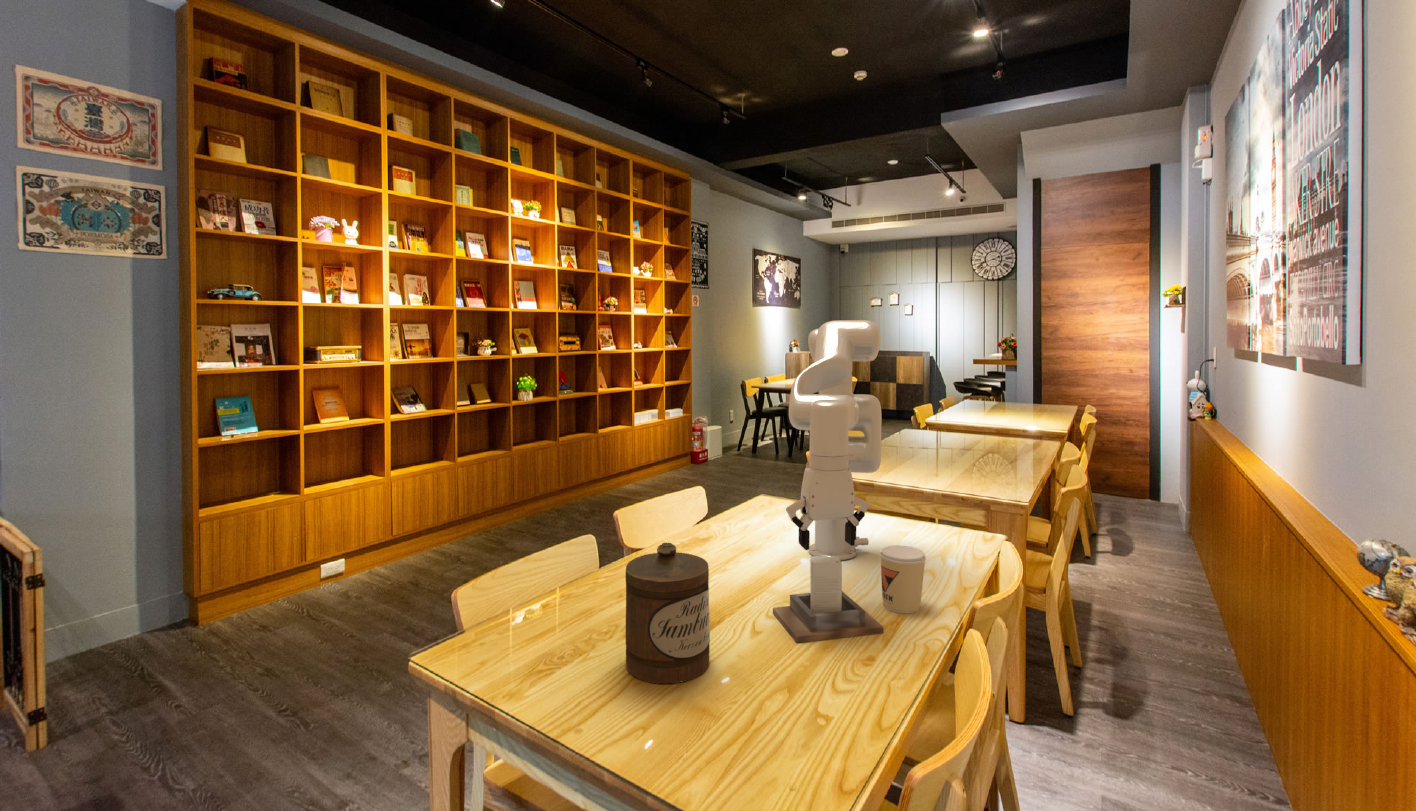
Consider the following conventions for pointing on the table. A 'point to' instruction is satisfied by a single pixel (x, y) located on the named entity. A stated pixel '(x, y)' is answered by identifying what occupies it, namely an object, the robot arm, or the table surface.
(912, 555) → the coffee cup
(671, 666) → the wooden container
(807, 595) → the sleeve holder
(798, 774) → the table surface
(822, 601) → the skincare box
